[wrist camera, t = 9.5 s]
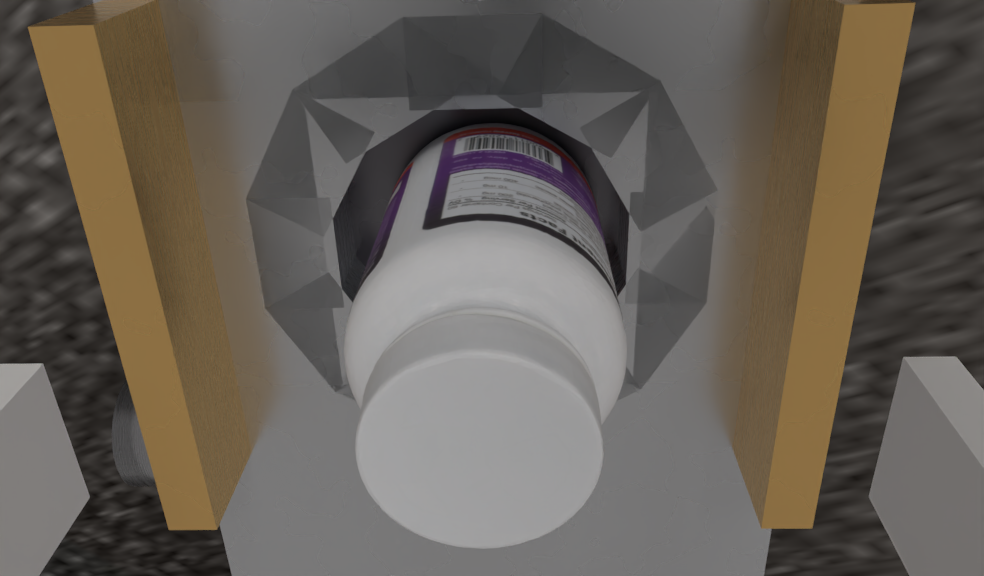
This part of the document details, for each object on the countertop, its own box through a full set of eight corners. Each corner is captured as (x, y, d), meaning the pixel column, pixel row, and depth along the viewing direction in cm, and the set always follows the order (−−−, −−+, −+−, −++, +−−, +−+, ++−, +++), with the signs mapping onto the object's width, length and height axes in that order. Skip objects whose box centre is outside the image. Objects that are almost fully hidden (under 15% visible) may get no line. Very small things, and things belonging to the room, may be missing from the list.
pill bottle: (477, 342, 24) (452, 625, 15) (348, 200, 22) (235, 431, 13) (638, 236, 22) (715, 486, 13) (514, 72, 20) (510, 241, 11)
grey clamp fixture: (57, -67, 22) (-168, -28, 15) (797, -90, 21) (940, -61, 14) (204, 516, 31) (110, 713, 24) (720, 514, 30) (782, 718, 23)
